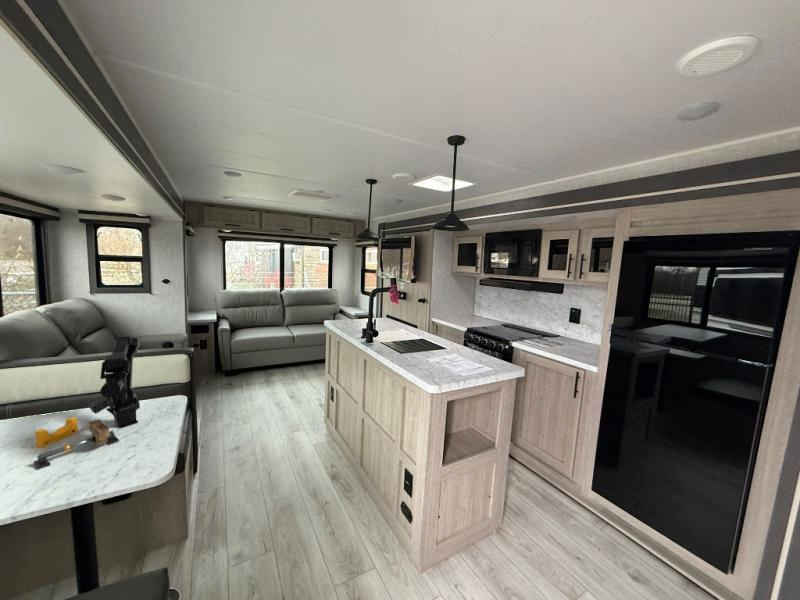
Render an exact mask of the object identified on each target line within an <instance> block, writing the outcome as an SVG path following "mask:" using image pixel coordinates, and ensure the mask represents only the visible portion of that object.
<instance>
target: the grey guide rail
mask: <svg viewBox="0 0 800 600" xmlns="http://www.w3.org/2000/svg"><path fill="white" fill-rule="evenodd" d="M109 433H110V437H109V438H107V443H106V444H108V445H109V446H111V445H113V444H115V443H119V442H120V439H119V438H118V437H117V436H115V435H116V433H115V432H114V431H113V430H109ZM95 441H96V437H95V436H94V437H92V436H91V437H89V438H86V439H85V438H84V439H82V440H79V441H76V442H73V443H68V444H66V445H63V446H59V447H57V448H54V449H51V450H48V451H44V452H41V453H38V455H37V456H36V457H37V459H36V460H34V461H33V464H34V466H35V467H36V469H37V470H40V469H43V468H47V467H49V466H51V462H50V461H49V459H48V458H49V457H52V456H56V455H58V454H63V453H64V452H65V453H66V452H69V451H71V450H73V449H77V448H81V447H84V446H86V445H89V444H92V443H93V442H95Z"/></svg>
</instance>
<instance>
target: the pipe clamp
mask: <svg viewBox="0 0 800 600" xmlns="http://www.w3.org/2000/svg"><path fill="white" fill-rule="evenodd" d="M78 432H79V428H78V417H74V416H72V417H69V418H66V419H65V424H64V425H63V426H61V427H59V428H57V429H56V430H55V431H53V432H51V433H49V432H48V430H47V429H45V428H40V429H39V430H35V431H34V433H35V434H34V436H35V442H36V443H35V444H36V445H35V446H36V448H40V449H43V448H45V447H48V446H50V445H52V444H55V443H56V442H59V441H61V440H64V439H65V438H67V437H70V436H72V435H74V434H77V433H78Z"/></svg>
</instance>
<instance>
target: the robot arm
mask: <svg viewBox="0 0 800 600" xmlns="http://www.w3.org/2000/svg"><path fill="white" fill-rule="evenodd" d="M140 345H141V344H140V339H139V338H137V337H132V336H129V335H125V336H123V335H122V336H117V337H115V339H114V343H113V349H112V353H111V354H109V355H107V356H106V357H105V358H104V360H103V361H102V363H101V368H100V369H101V370H100V377H99V378H100V380H105V382H104V383H103V384H102V386H101V388H100V390H99V391H100V394H101V397H99V398H97V399H95V400H93V401H91V402H90V403H87V404H88V405H87V407H88V408H89V409H90V410H91V412H92V413H94V414H98V413H100V412H102V411H104V410H106V411H107V412H108V413H110V414H111V415H112V416H113V418H114V425H115V426H117V427H118V428H119V429H122V428H126V427H129V426H131V425H134V424H138V423H139V421H138V420H137V411H138V409H141V406H140V401H139V399H138V397H137V395H136V394H137V393H136V392H134V390H133V389H132V386H133V364H134V363H133V362H134V357H135V356H136V355H137V354H138V353H139V352H138V350H139V349H140V347H141V346H140Z"/></svg>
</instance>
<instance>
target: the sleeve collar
mask: <svg viewBox="0 0 800 600" xmlns="http://www.w3.org/2000/svg"><path fill="white" fill-rule="evenodd" d="M88 431H89V432H90V433H91V434H92V435H91V437H94V436H95V437H96V441H95V442H92V443H93V444H94V445H95V446H96V447H99V446H102V445H105V444H108V443H107V438H109V437H110V433H109V432H110V428H109V427H108V426H107V425H106V424H105V423H104V422H102V420H101V419H96V420H95V419H94V420H93V421H89V422H88Z"/></svg>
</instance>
